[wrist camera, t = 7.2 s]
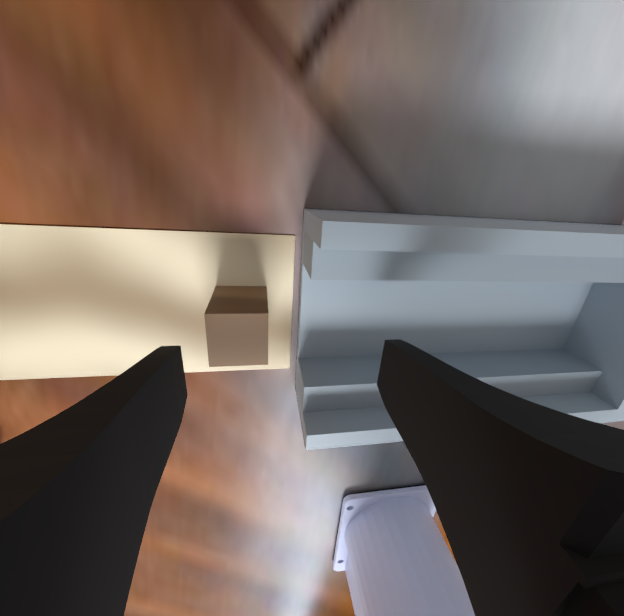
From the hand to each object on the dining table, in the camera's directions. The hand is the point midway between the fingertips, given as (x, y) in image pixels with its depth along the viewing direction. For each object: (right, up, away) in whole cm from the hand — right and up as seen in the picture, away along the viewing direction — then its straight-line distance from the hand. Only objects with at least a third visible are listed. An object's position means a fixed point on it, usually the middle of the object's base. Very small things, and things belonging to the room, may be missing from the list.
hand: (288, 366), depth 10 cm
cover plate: (-8, +2, +4) cm, 9 cm away
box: (+9, +2, +6) cm, 11 cm away
